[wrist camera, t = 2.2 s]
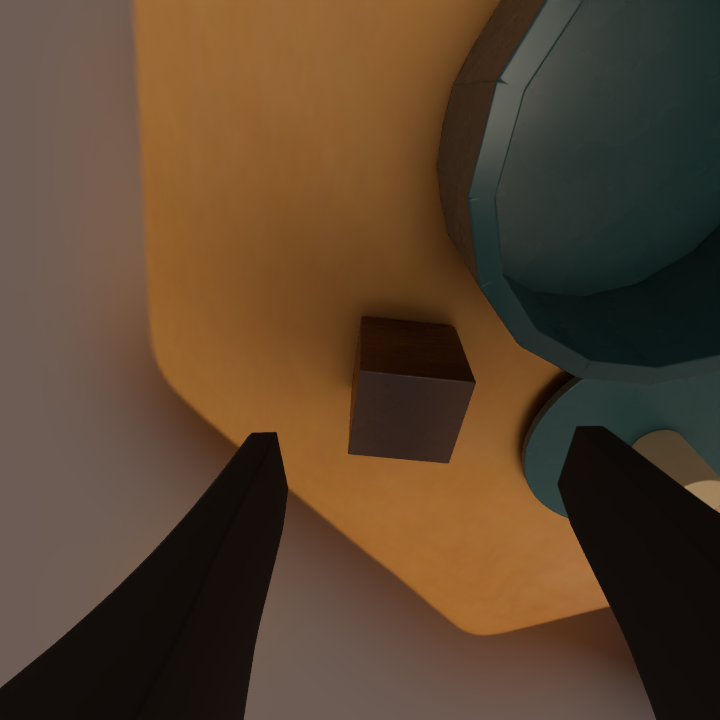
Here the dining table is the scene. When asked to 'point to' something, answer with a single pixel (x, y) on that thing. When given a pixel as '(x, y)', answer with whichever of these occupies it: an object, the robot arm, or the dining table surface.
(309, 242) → the dining table surface
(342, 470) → the dining table surface
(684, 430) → the cover
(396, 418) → the block
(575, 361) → the container
